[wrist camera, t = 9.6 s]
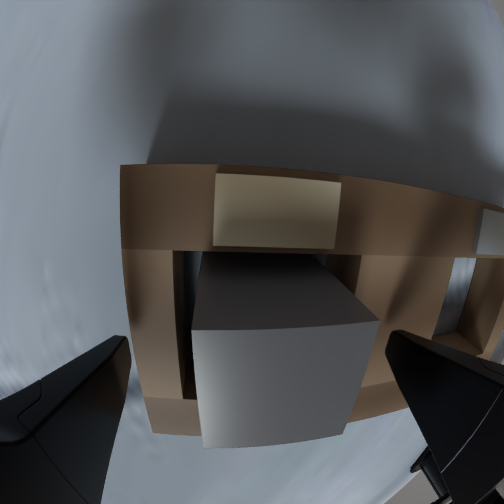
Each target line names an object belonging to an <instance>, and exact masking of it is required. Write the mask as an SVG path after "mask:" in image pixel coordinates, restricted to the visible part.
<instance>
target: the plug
mask: <svg viewBox="0 0 504 504" xmlns="http://www.w3.org/2000/svg"><path fill="white" fill-rule="evenodd" d="M379 323H380V320H379V319H378V318H377V317H376V316H375V315H374V314H373V313H372V312H371V311H370V310H369V309H368V308H367V307H366V306H365V305H364V304H363V303H362V302H361V301H360V300H359V299H358V298H357V297H356V296H355V295H354V294H353V293H352V292H350V291H349V290H348V289H347V288H346V287H345V286H344V285H343V284H342V283H341V282H340V281H339V280H338V279H337V278H336V277H335V276H334V275H333V274H332V273H331V272H329V271H328V270H327V269H326V268H325V267H324V266H323V265H322V264H321V263H320V262H319V261H318V260H317V259H316V258H314V257H313V256H312V255H311V254H301V253H261V252H208V251H203V253H202V259H201V265H200V272H199V278H198V285H197V292H196V299H195V306H194V314H193V322H192V329H191V332H192V346H193V358H194V370H195V380H196V390H197V400H198V408H199V417H200V425H201V432H202V440H203V447H204V448H241V447H257V446H269V445H279V444H287V443H295V442H302V441H308V440H314V439H320V438H325V437H331V436H336V435H340V434H343V431H344V429H345V427H346V424H347V422H348V419H349V417H350V414H351V412H352V409H353V406H354V404H355V401H356V398H357V395H358V393H359V390H360V387H361V384H362V381H363V378H364V375H365V372H366V369H367V366H368V362H369V359H370V356H371V352H372V349H373V346H374V342H375V338H376V335H377V331H378V327H379Z"/></svg>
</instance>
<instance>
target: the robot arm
mask: <svg viewBox="0 0 504 504" xmlns="http://www.w3.org/2000/svg"><path fill="white" fill-rule="evenodd" d="M385 356H386V358H387V361H388V363H389V365H390V368H391V370H392V373H393V375H394V377H395V380H396V382H397V385H398V387H399V389H400V391H401V393H402V395H403V397H404V399H405V400H406V402H407V404H408V406H409V408H410V410H411V412H412V414H413V416H414V418H415V420H416V422H417V424H418V426H419V428H420V430H421V432H422V434H423V436H424V438H425V440H426V442H427V444H428V446H429V447H428V448H427V449H426V451H425V452H424V453H423V455H422V456H421V457H420V458H419V460H418V461H417V462H416V463H415V465H414V466H413V467H412V468H411V470H410V472H411V473H414V472H416V471H418V470H421V469H422V471H423V472H424V474H425V475H426V477H427V479H428V481H429V482H430V484H431V485H432V487H433V489H434V490H435V492H436V494H437V495H438V497H439V499H438V500H436V501H435V502H432V503H431V504H446V503H447V502H448V501H450V500H451V499H452V502H451V503H449V504H504V365H502V364H498V363H495V362H492V361H489V360H486V359H483V358H480V357H477V356H474V355H471V354H468V353H466V352H463V351H460V350H457V349H454V348H452V347H449V346H446V345H443V344H440V343H438V342H435V341H432V340H429V339H427V338H424V337H421V336H418V335H416V334H413V333H410V332H407V331H405V330H402V329H400V330H393V331H392V332H391V333H390V335H389V339H388V342H387V345H386V348H385ZM130 369H131V353H130V348H129V342H128V339H127V337H126V336H119V335H114V336H112V337H111V338H109V339H107V340H106V341H104V342H102V343H101V344H99V345H97V346H96V347H94V348H92V349H90V350H89V351H87V352H85V353H84V354H82V355H80V356H79V357H77V358H75V359H73V360H72V361H70V362H68V363H67V364H65V365H63V366H62V367H60V368H58V369H57V370H55V371H53V372H51V373H50V374H48V375H46V376H45V377H43V378H41V380H38V381H36V382H34V383H33V384H31V385H29V386H27V387H26V388H24V389H22V390H20V391H18V392H16V393H14V394H12V395H10V396H8V397H6V398H4V399H2V400H0V504H101V499H102V494H103V489H104V484H105V479H106V475H107V470H108V466H109V461H110V457H111V453H112V449H113V445H114V441H115V437H116V433H117V429H118V426H119V422H120V418H121V415H122V411H123V407H124V403H125V398H126V392H127V386H128V380H129V374H130Z"/></svg>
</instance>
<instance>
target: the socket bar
mask: <svg viewBox="0 0 504 504" xmlns="http://www.w3.org/2000/svg"><path fill="white" fill-rule="evenodd" d="M120 227H121V248H122V262H123V274H124V285H125V294H126V303H127V310H128V318H129V325H130V331H131V337H132V343H133V349H134V355H135V360H136V365H137V370H138V375H139V379H140V384H141V388H142V393H143V397H144V401H145V405H146V409H147V413H148V417H149V420H150V424H151V427H152V431H153V433H160V434H172V435H190V436H202V432H201V425H200V417H199V408H198V400H197V390H196V380H195V370H194V358H193V356H187V341H186V323H185V299H184V251H220V252H261V253H301V254H327V257H326V265H325V268H326V269H327V270H328V271H329V272H331V273H332V274H333V275H334V276H335V277H336V278H337V279H338V280H339V281H340V282H341V283H342V284H343V285H344V286H345V287H346V288H347V289H348V290H349V291H350V292H352V293H353V294H354V295H355V296H356V297H357V298H358V299H359V300H360V301H361V302H362V303H363V304H364V305H365V306H366V307H367V308H368V309H369V310H370V311H371V312H372V313H373V314H374V315H375V316H376V317H377V318H378V319H379V320H380V323H379V327H378V331H377V335H376V338H375V342H374V346H373V349H372V352H371V356H370V359H369V362H368V366H367V369H366V372H365V375H364V378H363V381H362V384H361V387H360V390H359V393H358V395H357V398H356V401H355V404H354V406H353V409H352V412H351V414H350V417H349V419H348V422H347V423H350V422H354V421H359V420H363V419H367V418H372V417H376V416H379V415H383V414H387V413H391V412H394V411H398V410H401V409H404V408H407V407H409V406H408V404H407V402H406V400H405V399H404V397H403V395H402V393H401V391H400V389H399V387H398V385H397V382H396V380H395V377H394V375H393V373H392V370H391V368H390V365H389V363H388V361H387V358H386V356H385V348H386V345H387V342H388V339H389V335H390V333H391V332H392V331H393V330H400V329H402V330H405V331H407V332H410V333H413V334H416V335H418V336H421V337H424V338H427V339H429V340H432V341H435V342H438V343H440V344H443V345H446V346H449V347H452V348H454V349H457V350H460V351H463V352H466V353H468V354H471V355H474V356H477V357H480V358H483V359H486V360H489V361H490V359H491V357H492V355H493V352H494V350H495V348H496V346H497V343H498V341H499V338H500V336H501V334H502V331H503V329H504V208H501V207H498V206H494V205H491V204H487V203H484V202H480V201H476V200H472V199H468V198H464V197H460V196H456V195H452V194H447V193H443V192H438V191H434V190H429V189H424V188H419V187H414V186H409V185H403V184H398V183H392V182H386V181H380V180H374V179H368V178H361V177H354V176H347V175H339V174H331V173H323V172H314V171H304V170H294V169H283V168H270V167H256V166H238V165H214V164H132V165H120ZM455 257H466V258H477V262H476V266H475V270H474V274H473V278H472V282H471V286H470V289H469V293H468V296H467V299H466V303H465V306H464V309H463V312H462V315H461V318H460V321H459V324H458V327H457V329H456V331H455V332H451V333H446V334H441V335H437V336H433V333H434V330H435V327H436V324H437V321H438V318H439V315H440V312H441V308H442V305H443V302H444V298H445V295H446V291H447V288H448V284H449V280H450V276H451V272H452V268H453V263H454V259H455Z"/></svg>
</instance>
